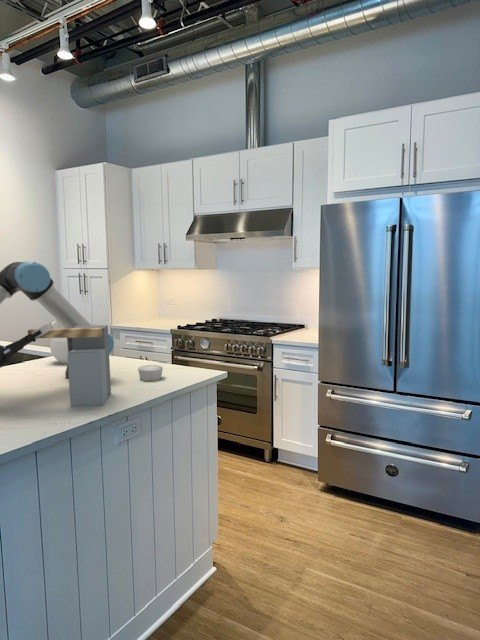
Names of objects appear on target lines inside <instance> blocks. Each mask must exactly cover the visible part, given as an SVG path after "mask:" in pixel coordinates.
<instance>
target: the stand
mask: <svg viewBox="0 0 480 640" xmlns="http://www.w3.org/2000/svg"><path fill="white" fill-rule="evenodd" d="M74 328H102V336H101V337H75V338H72V342H73V350H71V351H70V352H69V353H67V356H68V373H69V379H68V386H69V387H68V388H69V404H70V407H82V406H83V407H86V406H87V407H90V406H91V407H92V406H104V405H105V404H106V402H107V401H108V399H109V397H110V395H111V394H112V389H111V386H112V385H111V369H110V368H111V367H110V355H109V340H108V334H109V325H108V324H106V325H105V324H103V325H102V324H101V325H98V324H96V326H76V327H74Z"/></svg>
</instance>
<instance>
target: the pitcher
mask: <svg viewBox="0 0 480 640" xmlns="http://www.w3.org/2000/svg"><path fill="white" fill-rule="evenodd" d="M51 324H52V325H53V327H54V329H66V328H65V327H64V326H63V325H62V324H61V323H60V322H59V321H58V320H57V319H56V318H55V317H54V316H53V321H52V322H51ZM55 324H56V326H57V327H55ZM49 347H50V348H49V349H50V353H51V355H52V356H53V357H54V359H55V360H56V361H58V362H59V363H61V364H62V365H67V364H68V356H67V353H68V344H67V338H50V343H49Z"/></svg>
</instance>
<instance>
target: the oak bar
mask: <svg viewBox="0 0 480 640" xmlns="http://www.w3.org/2000/svg"><path fill="white" fill-rule="evenodd" d="M37 329H38V328H33V329H31V328H30V329H28V330H27V335H29V334H32V332H34V331H36V330H37ZM101 336H102V328H70V329H57V328H56V329H51V330H50V331H49V332H47V333H45V334H44V335H42V336H40V337H39V338H38V339H51V338H75V337H101Z"/></svg>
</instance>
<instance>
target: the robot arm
mask: <svg viewBox="0 0 480 640" xmlns="http://www.w3.org/2000/svg"><path fill="white" fill-rule="evenodd" d="M54 283H55V281H54V280H53V279H52V278H51V274H50V271H49V270H48V268H47V267H46V265H44V264H42V263H40V262H36V261H31V260H30V261H29V260H28V261H14V262H11V263H9V264H6V266H4V268H2V269H1V270H0V305H1V304H2V303H3V302H4V301H5V300H6V299H10V298H12V297H13V296H14V295H15V294H16V293H18V292H20V291H21V292H22V293H23V294H24V296H26V297H27V298H28V299H29V300H30V301H36V302H38V303H39V304H40V305H41V306H42V307H43V308H44V309H45V310H46V311H47V312H48V313H49V314H50V315H51V316H52V317H53V318H54V317H55V318H56V319H57V320H58V321H59V322H60V323H61V324H62V325H63V326H64V327H65V328H66V329H70V328H74V327H76V326H96V325H97V324H95V323H90V322H89V321H88V320H87V319H86V318H85V317H84V316H83V315H82V314H81V313H80V312H79V311H78V310H77V309H76V307H74V305H72V303H70V301H69V300H68V299H67V298H66V297H64V295H63V294H61V293H60V291H59V290H58V289H57V288H56V287H55V285H54ZM54 327H55V326H54ZM54 327H53V325H52V322H48V323H45V324H44V325H42V326H41V327H39V328H36V329H37V330H36V331H34V332H32V334H29V335H28V334H27V335H25V336H23V337H21V338H20V339H19V340H16V341H14V342H12V343H9V344H7V345H5V346H3V345H0V369H1V368H2V367H5V366H6V365H8V364H9V363H11V362H12V357H11V356H14V355H16V354H18V352H19V351H21V350H22V349H24V347H26V346H28V345H29V344H31V343H35V342H36V340H37V339H40V338H39V337H40V336H42V335H44V334H45V333H47V332H49V331H50V330H51V329H54ZM108 340H109V356H110V355H111V354H112V352H113V350H114V347H115V340H114V338H113V336H112V335H111V334H110V333H108ZM67 344H68V353H69V352H70V351H71V350H73V342H72V338H67ZM64 373H65V374H64V375H65V378H66V379H68V380H69V373H68V364H66V369H65V372H64Z"/></svg>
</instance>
